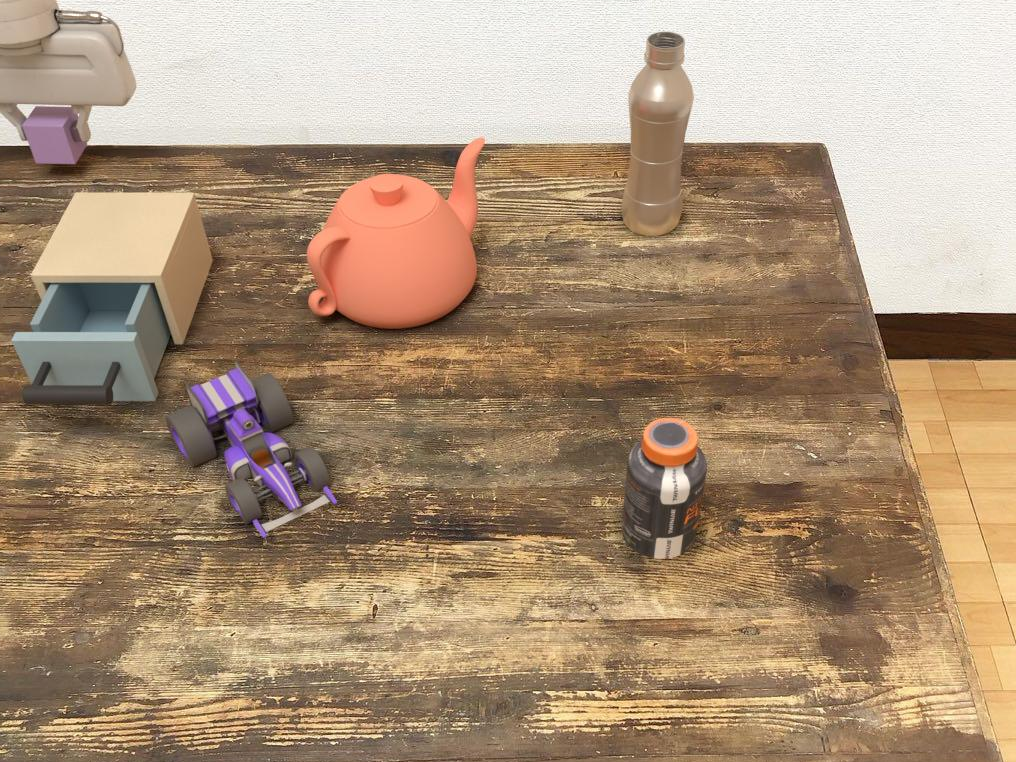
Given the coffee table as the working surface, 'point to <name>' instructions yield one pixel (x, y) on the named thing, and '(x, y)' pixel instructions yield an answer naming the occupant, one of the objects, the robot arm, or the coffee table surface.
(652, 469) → the pill bottle
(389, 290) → the teapot
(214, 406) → the toy race car
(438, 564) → the coffee table surface
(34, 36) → the robot arm
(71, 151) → the purple cube
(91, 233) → the drawer cabinet
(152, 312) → the blue drawer
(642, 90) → the plastic bottle
